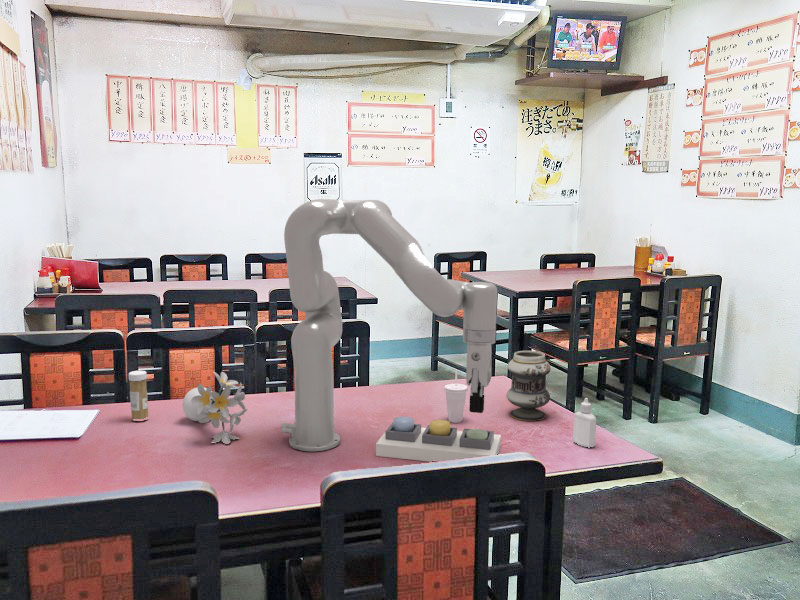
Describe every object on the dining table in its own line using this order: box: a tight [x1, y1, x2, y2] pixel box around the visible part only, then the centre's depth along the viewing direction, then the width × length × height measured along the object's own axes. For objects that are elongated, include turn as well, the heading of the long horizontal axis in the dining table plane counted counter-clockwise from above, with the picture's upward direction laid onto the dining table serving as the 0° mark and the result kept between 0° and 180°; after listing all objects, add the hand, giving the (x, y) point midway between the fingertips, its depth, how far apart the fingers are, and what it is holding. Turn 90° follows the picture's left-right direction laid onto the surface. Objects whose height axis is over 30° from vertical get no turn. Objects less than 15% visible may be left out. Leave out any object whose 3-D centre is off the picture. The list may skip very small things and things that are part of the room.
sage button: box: [466, 428, 488, 440], centre depth 157 cm, size 5×5×2 cm
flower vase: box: [182, 371, 248, 444], centre depth 172 cm, size 13×18×25 cm
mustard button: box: [429, 419, 451, 436], centre depth 159 cm, size 5×5×2 cm
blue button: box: [392, 416, 415, 432], centre depth 161 cm, size 5×5×2 cm
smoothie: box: [443, 370, 469, 424], centre depth 181 cm, size 6×6×14 cm
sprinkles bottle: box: [128, 370, 149, 419], centre depth 179 cm, size 5×5×14 cm
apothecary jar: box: [506, 350, 552, 422], centre depth 186 cm, size 12×12×18 cm
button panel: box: [375, 422, 502, 463], centre depth 160 cm, size 28×14×5 cm, turn 76°
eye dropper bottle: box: [572, 397, 597, 449], centre depth 164 cm, size 4×6×12 cm
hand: (476, 411), depth 156 cm, fingers closed
